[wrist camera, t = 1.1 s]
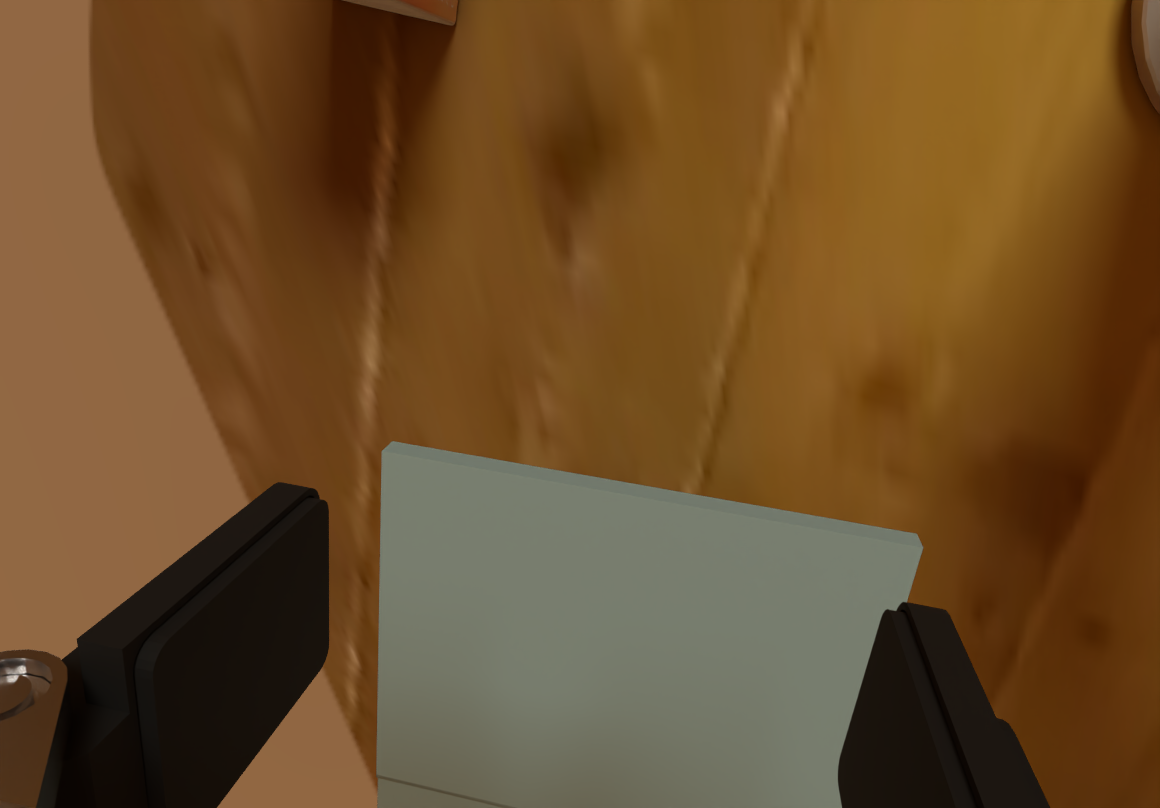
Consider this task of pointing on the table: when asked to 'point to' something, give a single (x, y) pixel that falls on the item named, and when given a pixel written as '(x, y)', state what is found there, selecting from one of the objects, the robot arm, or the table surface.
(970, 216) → the table surface
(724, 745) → the flap
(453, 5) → the small box
